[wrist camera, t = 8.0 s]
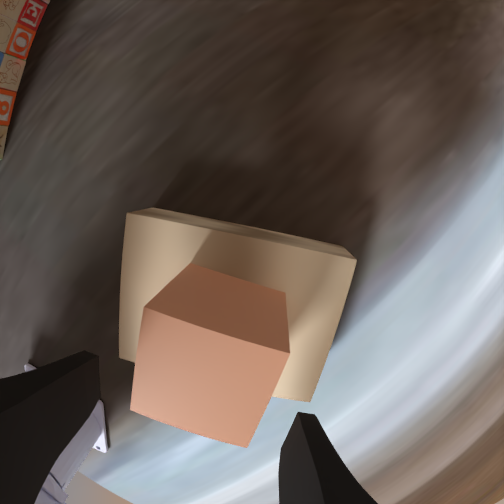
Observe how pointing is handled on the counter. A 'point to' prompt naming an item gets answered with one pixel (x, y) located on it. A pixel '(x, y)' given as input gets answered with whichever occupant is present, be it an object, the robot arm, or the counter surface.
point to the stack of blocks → (15, 51)
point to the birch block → (243, 267)
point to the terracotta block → (210, 354)
